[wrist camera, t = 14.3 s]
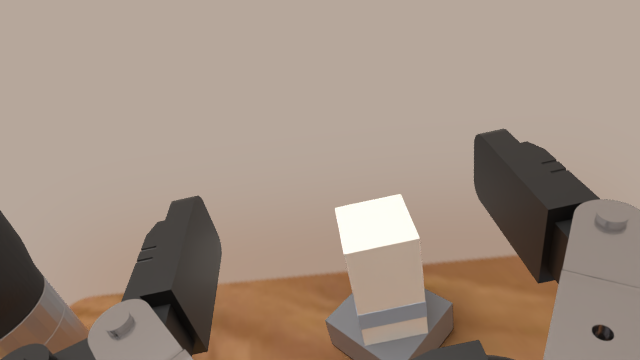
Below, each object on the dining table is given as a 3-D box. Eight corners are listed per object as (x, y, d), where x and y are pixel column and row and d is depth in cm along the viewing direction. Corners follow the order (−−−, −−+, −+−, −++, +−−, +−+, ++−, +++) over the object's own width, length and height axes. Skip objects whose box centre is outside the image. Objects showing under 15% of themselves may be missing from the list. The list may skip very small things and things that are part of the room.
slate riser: (402, 396, 39) (398, 371, 37) (332, 343, 45) (325, 320, 43) (453, 328, 43) (452, 303, 41) (383, 289, 49) (379, 265, 47)
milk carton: (428, 333, 39) (420, 238, 32) (364, 346, 39) (343, 255, 33) (411, 283, 44) (400, 193, 38) (354, 295, 44) (334, 207, 38)
